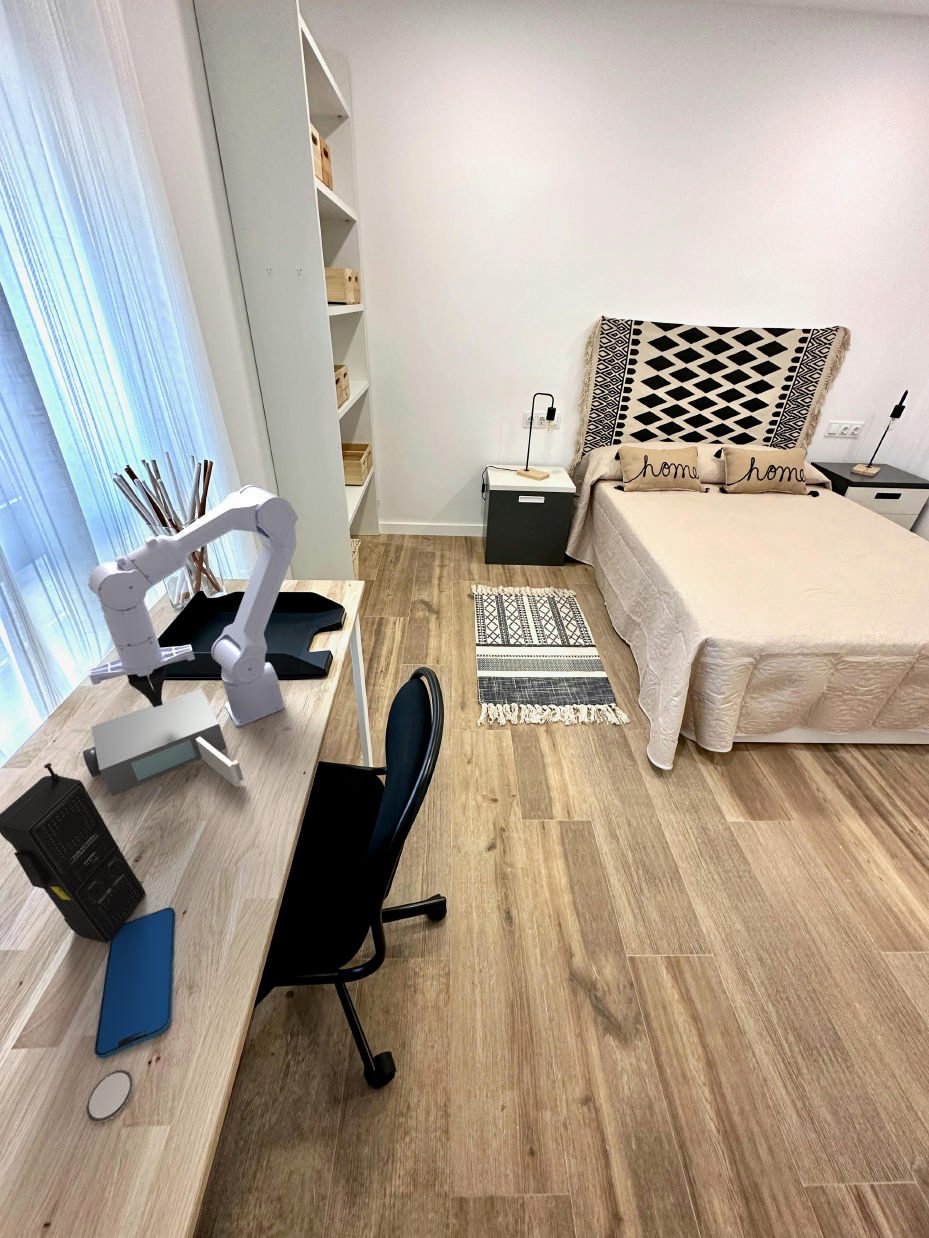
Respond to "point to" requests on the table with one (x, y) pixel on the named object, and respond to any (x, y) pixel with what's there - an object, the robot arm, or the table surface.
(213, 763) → the side door
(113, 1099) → the white round disc
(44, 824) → the portable radio
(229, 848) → the table surface
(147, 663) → the robot arm
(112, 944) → the smartphone
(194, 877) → the table surface
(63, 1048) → the table surface
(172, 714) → the camera housing
